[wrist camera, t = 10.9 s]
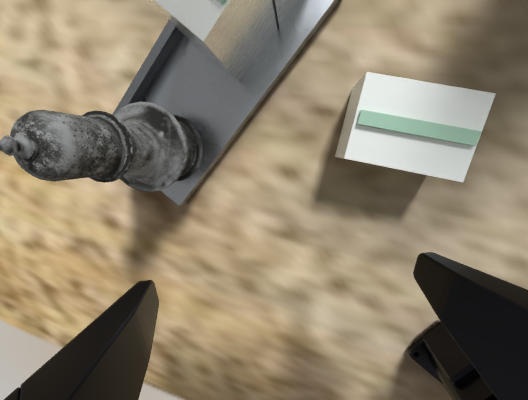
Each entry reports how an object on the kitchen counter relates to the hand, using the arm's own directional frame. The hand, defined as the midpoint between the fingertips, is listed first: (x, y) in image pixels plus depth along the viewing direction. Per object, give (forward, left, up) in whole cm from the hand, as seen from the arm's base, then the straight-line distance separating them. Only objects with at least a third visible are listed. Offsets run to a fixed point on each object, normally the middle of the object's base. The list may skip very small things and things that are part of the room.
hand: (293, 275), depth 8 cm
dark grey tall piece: (+10, +3, -12) cm, 16 cm away
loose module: (-2, -8, -13) cm, 16 cm away
